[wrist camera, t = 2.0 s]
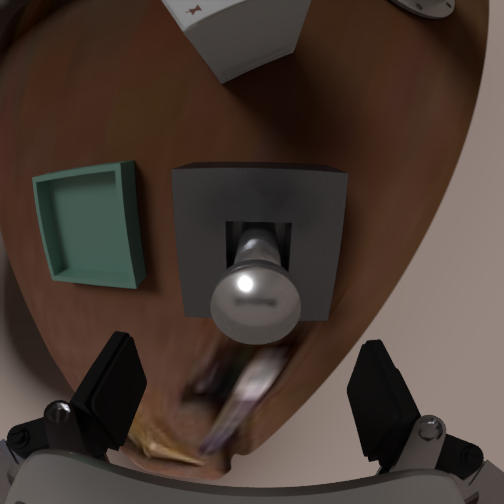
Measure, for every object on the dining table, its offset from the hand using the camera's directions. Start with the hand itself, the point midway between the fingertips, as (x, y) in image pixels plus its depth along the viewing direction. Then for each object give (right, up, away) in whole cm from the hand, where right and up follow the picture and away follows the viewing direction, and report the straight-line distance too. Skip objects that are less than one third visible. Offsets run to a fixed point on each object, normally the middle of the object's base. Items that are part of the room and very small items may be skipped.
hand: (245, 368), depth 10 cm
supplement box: (-1, +24, +8) cm, 25 cm away
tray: (-17, +8, +15) cm, 24 cm away
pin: (+1, +6, +14) cm, 16 cm away
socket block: (+1, +7, +15) cm, 17 cm away
